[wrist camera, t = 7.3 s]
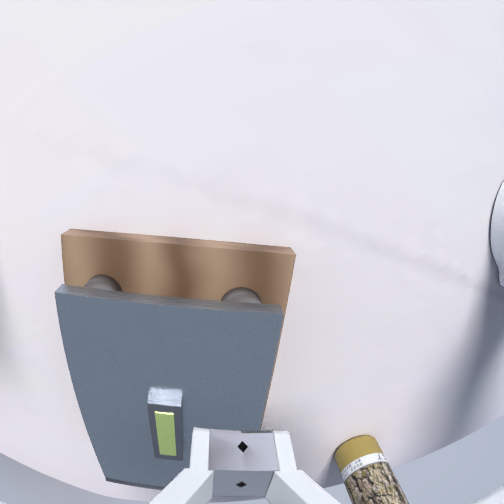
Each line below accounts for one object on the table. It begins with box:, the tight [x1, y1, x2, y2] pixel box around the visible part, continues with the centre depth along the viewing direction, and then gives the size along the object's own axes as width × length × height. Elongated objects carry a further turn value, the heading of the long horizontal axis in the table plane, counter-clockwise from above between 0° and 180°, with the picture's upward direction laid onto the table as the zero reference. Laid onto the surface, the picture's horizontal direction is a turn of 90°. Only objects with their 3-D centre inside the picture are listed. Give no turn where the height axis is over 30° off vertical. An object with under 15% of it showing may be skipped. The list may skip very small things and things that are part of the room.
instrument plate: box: [55, 284, 284, 490], centre depth 25 cm, size 17×27×3 cm, turn 173°
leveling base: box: [61, 229, 296, 431], centre depth 29 cm, size 20×32×5 cm, turn 173°
